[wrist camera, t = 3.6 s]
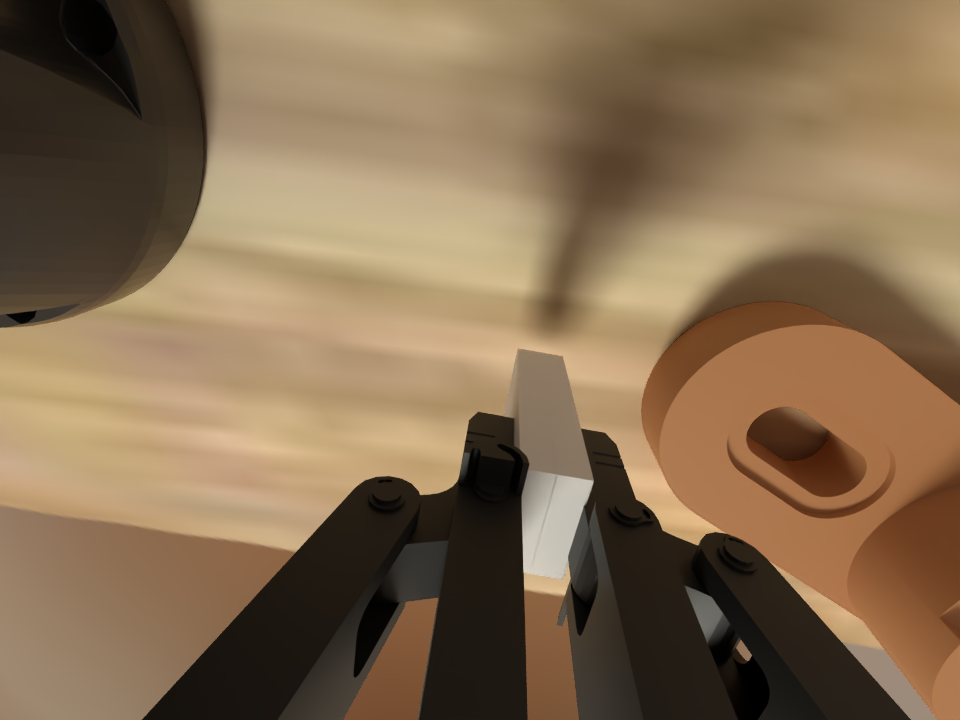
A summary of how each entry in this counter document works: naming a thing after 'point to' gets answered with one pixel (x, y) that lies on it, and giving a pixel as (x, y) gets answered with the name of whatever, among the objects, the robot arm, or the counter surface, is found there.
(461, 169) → the counter surface
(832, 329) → the bracket
